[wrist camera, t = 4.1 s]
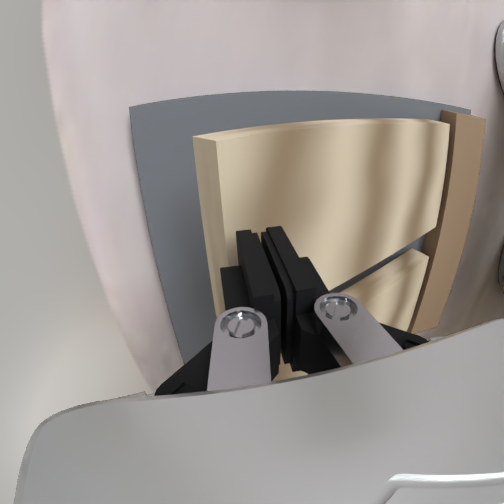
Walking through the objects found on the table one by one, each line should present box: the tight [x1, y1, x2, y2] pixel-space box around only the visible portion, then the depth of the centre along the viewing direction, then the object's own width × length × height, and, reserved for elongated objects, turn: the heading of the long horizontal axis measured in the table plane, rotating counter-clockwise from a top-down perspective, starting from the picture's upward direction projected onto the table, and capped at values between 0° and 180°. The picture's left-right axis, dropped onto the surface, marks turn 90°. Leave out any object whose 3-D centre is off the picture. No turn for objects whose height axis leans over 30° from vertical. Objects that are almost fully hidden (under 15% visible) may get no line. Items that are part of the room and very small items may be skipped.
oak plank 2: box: [273, 248, 429, 381], centre depth 23 cm, size 20×9×2 cm, turn 93°
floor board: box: [129, 91, 485, 364], centre depth 25 cm, size 28×24×4 cm
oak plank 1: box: [192, 118, 450, 318], centre depth 18 cm, size 20×9×2 cm, turn 93°
